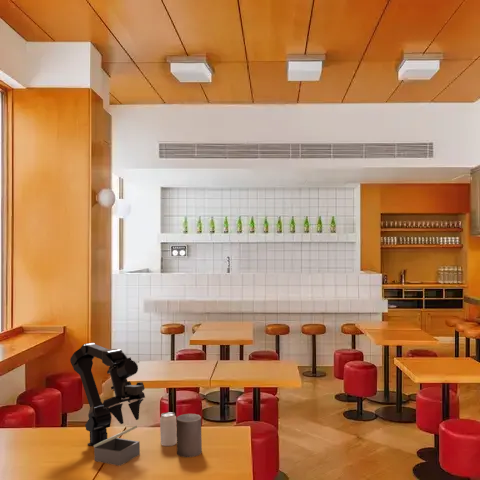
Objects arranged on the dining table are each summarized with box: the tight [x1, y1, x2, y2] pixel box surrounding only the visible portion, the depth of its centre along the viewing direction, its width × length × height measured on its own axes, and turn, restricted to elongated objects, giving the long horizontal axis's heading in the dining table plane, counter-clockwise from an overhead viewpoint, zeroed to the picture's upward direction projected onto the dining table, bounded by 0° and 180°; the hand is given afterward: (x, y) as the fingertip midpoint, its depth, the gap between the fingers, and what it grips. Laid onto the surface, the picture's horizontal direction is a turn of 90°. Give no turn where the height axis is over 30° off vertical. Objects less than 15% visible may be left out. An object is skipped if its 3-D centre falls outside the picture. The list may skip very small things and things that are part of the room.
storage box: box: [93, 437, 141, 467], centre depth 219 cm, size 12×12×5 cm
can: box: [159, 411, 177, 447], centre depth 232 cm, size 6×6×12 cm
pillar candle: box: [176, 413, 203, 458], centre depth 222 cm, size 10×10×15 cm
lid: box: [92, 425, 138, 448], centre depth 219 cm, size 12×12×1 cm
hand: (130, 421), depth 218 cm, fingers open, 9 cm apart
